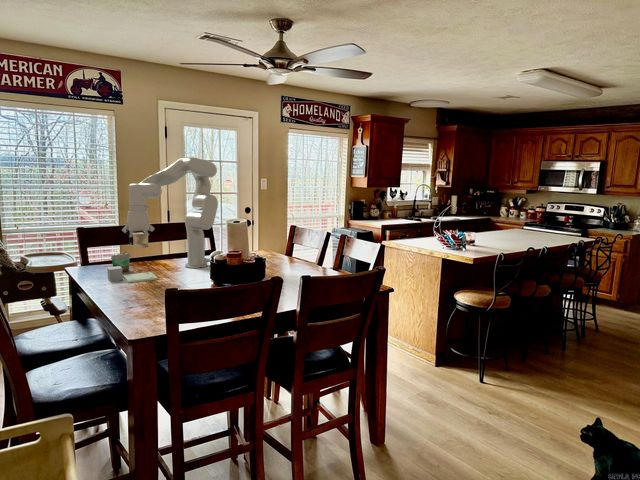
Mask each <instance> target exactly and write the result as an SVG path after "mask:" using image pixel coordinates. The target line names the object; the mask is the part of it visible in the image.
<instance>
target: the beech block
mask: <svg viewBox="0 0 640 480" xmlns="http://www.w3.org/2000/svg"><path fill="white" fill-rule="evenodd" d="M132 237H133V245H131V243H130V242H129V245H130V246H131V247H133V248H134V249H143V248H144V249H145V248H149V236H148V235H146V234H145V233H144V232H133V235H132Z"/></svg>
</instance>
